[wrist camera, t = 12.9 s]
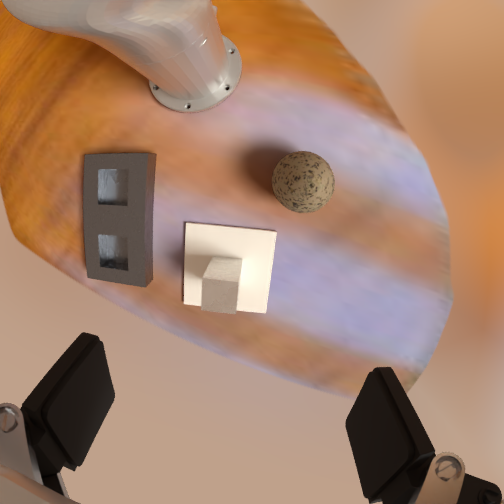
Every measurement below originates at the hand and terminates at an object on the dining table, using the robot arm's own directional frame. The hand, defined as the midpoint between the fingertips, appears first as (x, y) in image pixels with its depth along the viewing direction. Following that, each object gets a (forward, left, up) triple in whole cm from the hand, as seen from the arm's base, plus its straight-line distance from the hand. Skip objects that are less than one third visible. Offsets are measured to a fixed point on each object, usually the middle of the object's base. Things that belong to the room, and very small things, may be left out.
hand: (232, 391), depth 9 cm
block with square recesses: (+1, -19, -30) cm, 35 cm away
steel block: (+7, -3, -29) cm, 30 cm away
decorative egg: (-6, +5, -30) cm, 31 cm away
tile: (+7, -3, -30) cm, 31 cm away
